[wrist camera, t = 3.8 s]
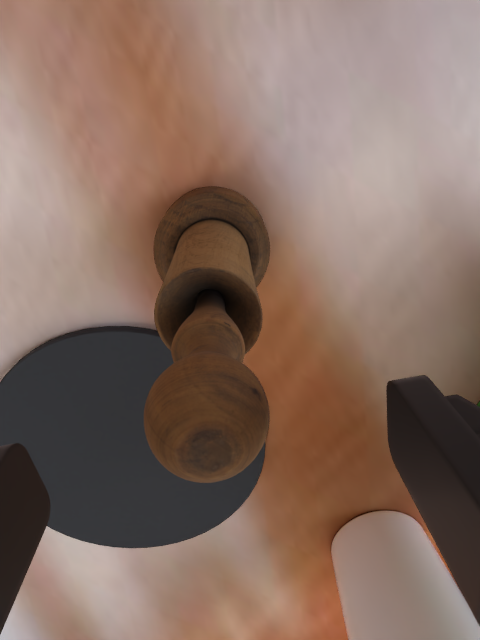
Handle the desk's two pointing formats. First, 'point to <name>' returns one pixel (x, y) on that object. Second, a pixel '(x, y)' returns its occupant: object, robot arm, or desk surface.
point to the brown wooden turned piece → (208, 336)
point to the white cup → (397, 583)
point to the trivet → (108, 441)
